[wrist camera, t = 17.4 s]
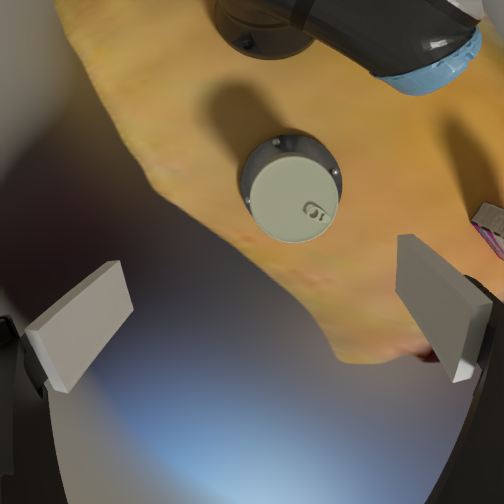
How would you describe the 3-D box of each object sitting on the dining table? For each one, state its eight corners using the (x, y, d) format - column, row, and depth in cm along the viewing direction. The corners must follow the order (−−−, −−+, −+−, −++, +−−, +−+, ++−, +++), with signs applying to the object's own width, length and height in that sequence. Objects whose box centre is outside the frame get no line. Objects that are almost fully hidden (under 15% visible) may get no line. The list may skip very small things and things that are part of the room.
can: (303, 229, 44) (310, 260, 33) (245, 198, 43) (232, 219, 32) (336, 173, 41) (356, 184, 30) (276, 140, 40) (275, 138, 29)
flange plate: (227, 154, 43) (225, 154, 41) (322, 122, 40) (323, 121, 39) (261, 244, 47) (260, 247, 45) (352, 215, 44) (354, 217, 43)
